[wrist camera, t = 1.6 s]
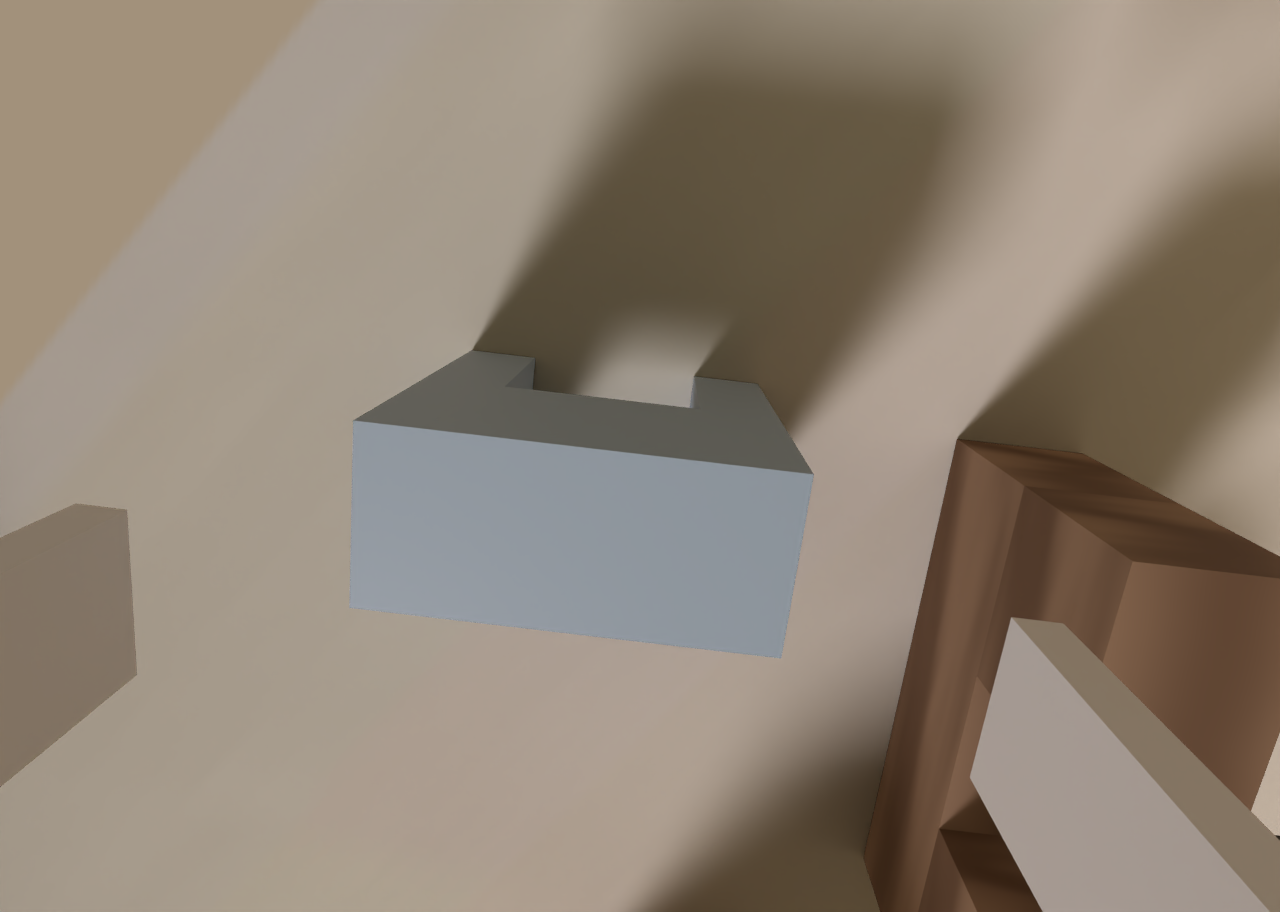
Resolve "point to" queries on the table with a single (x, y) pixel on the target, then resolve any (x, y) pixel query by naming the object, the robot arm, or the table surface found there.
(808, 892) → the table surface
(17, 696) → the robot arm
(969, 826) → the walnut notched block
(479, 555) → the grey slotted block
